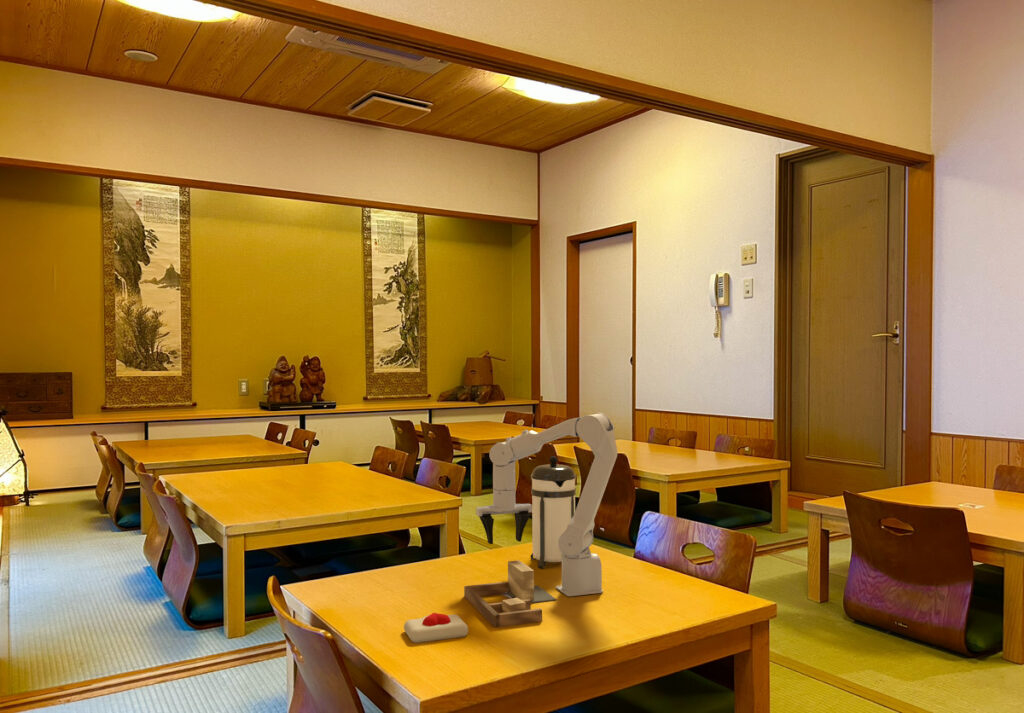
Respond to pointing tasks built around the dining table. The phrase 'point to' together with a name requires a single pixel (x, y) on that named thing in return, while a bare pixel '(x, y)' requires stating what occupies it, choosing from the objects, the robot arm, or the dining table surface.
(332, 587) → the dining table surface
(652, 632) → the dining table surface
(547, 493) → the coffee press
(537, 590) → the mat
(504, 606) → the offcut upper
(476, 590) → the rack
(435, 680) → the dining table surface
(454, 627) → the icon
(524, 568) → the tan wooden block
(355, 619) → the dining table surface
